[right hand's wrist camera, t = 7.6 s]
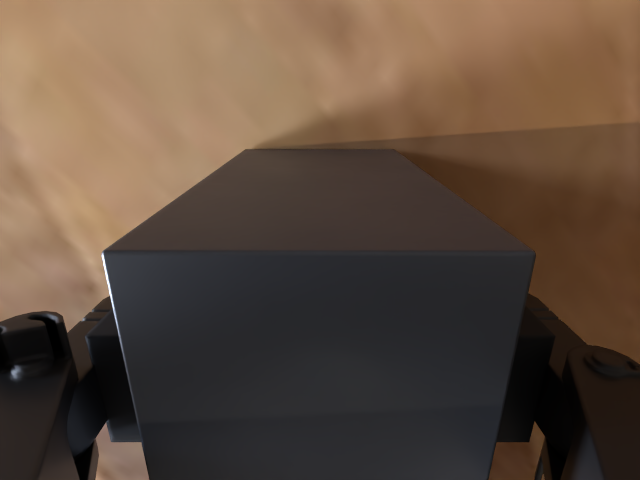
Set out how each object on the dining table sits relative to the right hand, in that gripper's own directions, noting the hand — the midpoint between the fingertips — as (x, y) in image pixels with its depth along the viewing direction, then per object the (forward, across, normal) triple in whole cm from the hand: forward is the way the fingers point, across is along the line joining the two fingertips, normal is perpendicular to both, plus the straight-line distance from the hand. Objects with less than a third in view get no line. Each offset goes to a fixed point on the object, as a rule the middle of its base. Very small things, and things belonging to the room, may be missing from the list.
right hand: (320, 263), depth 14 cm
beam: (0, 0, -11) cm, 11 cm away
